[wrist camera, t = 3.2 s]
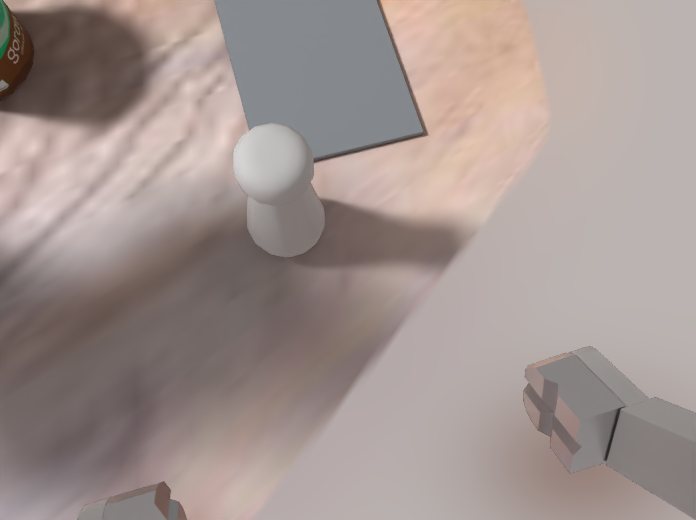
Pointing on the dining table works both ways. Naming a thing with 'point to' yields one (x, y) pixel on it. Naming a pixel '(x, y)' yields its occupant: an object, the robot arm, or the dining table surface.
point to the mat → (319, 71)
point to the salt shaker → (279, 189)
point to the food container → (13, 52)
